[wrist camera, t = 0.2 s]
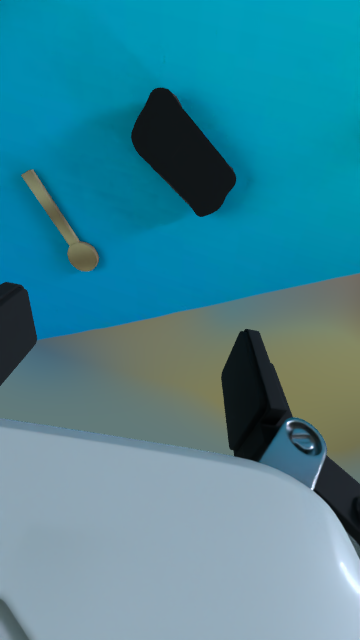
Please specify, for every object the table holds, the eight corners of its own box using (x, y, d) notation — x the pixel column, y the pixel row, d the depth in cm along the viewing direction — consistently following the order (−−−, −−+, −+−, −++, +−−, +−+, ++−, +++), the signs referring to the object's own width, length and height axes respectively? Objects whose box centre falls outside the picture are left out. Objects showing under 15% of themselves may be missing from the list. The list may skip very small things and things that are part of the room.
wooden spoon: (15, 179, 40) (11, 180, 39) (41, 163, 39) (37, 164, 38) (81, 273, 50) (79, 275, 49) (104, 263, 48) (102, 265, 47)
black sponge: (129, 141, 36) (124, 140, 33) (165, 85, 33) (162, 78, 30) (203, 218, 42) (204, 223, 39) (240, 178, 38) (244, 181, 35)
